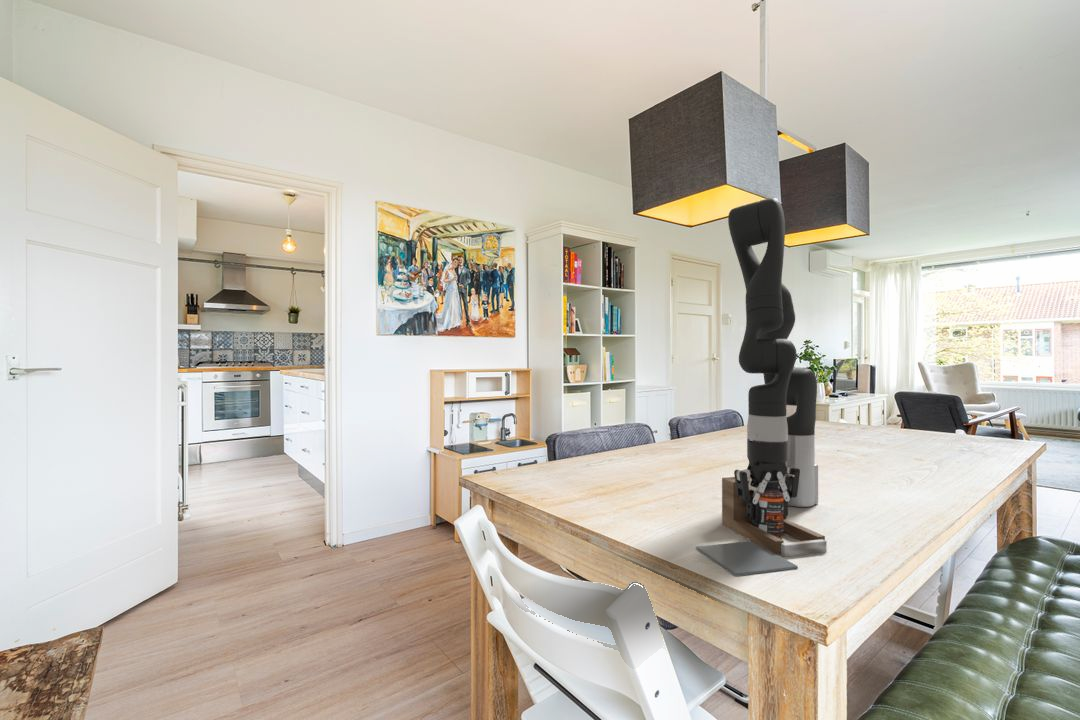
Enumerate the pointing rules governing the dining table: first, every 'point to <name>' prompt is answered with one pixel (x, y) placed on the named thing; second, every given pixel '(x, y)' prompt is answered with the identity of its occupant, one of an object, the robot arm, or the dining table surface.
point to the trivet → (745, 558)
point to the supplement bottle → (771, 510)
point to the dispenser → (740, 523)
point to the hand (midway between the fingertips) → (767, 519)
